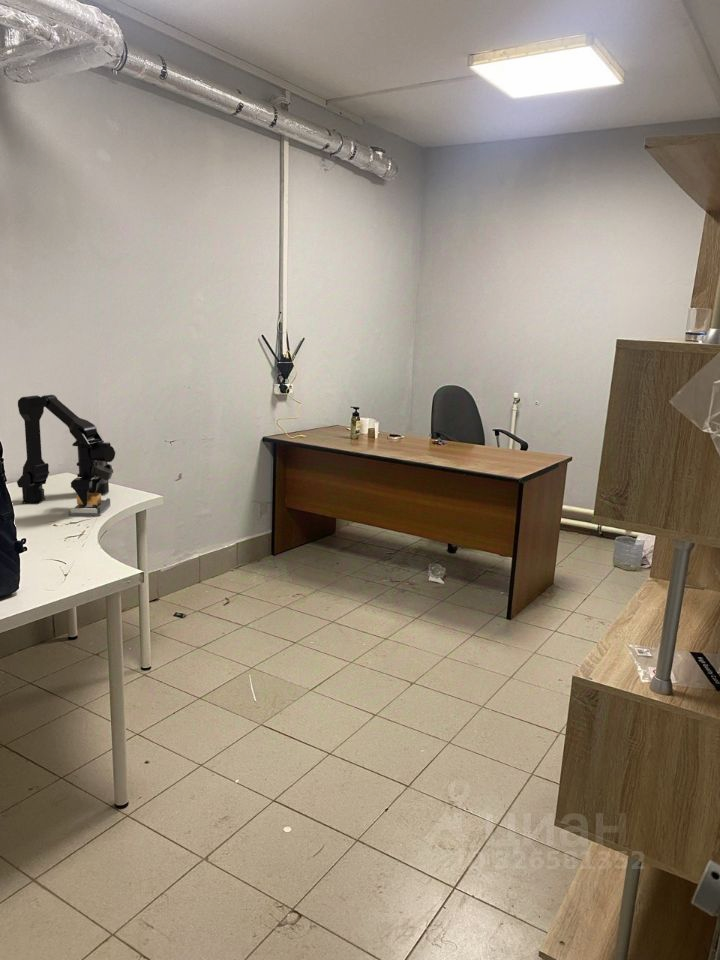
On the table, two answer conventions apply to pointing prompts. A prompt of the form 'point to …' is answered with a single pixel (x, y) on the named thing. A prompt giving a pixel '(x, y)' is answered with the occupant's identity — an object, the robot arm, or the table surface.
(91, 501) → the trolley
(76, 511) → the dock
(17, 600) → the table surface
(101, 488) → the electronic device
